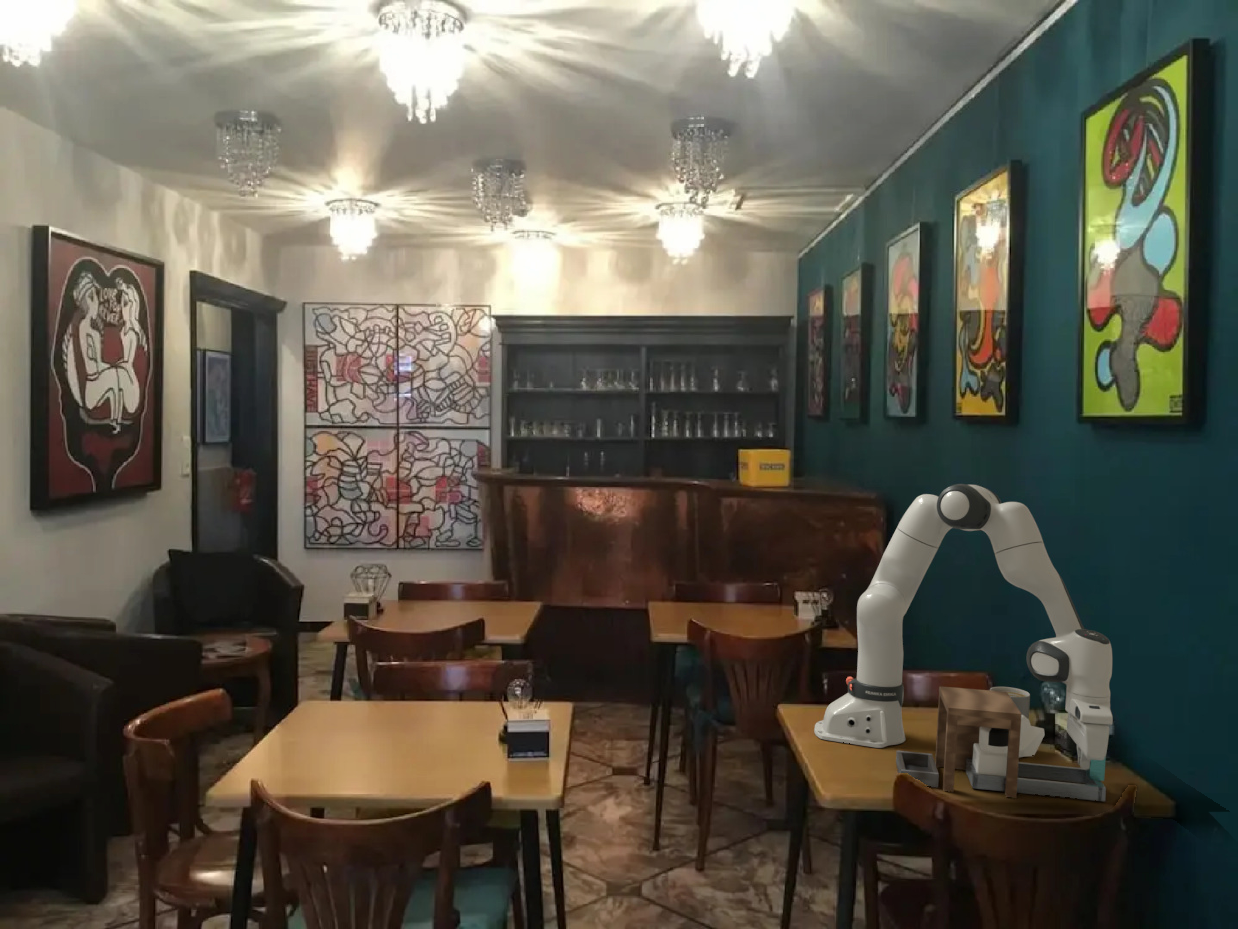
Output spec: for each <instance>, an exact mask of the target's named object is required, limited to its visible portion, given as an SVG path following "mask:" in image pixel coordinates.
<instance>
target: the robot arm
mask: <svg viewBox="0 0 1238 929" xmlns="http://www.w3.org/2000/svg"><path fill="white" fill-rule="evenodd" d="M951 529H955V530H956V529H957V530H962V531H966V532H973V531H974V532H975V531H976V532H977V531H979V532H982V531H983V532H984V533H986V535H987V537H988V539H989V540H990V543H991V546H992V550H993V553H994V556H995V560H996V563H997V566H998V569H999V571H1000V573H1001V575H1002V576H1003V578H1004V579H1005V581H1007V582H1008V583H1009V584H1011V585H1013V586H1014V587H1016V588H1019V589H1022V590H1024V591H1027V592H1029V593H1030V594H1032V595H1033V596H1035V597H1036V598H1037V599H1038V600H1039V601H1041V603H1042V605H1043V607H1044V609H1045V612H1046V614H1047V616H1048V619H1049V621H1050V623H1051V625H1052V627H1053V628H1052V629H1053V630H1054V632H1055V637H1049V638H1045V639H1040V640H1037V641H1035V642H1033V643H1032V644H1030V646H1029V647H1028V649H1027V651H1026V664H1027V667H1028V670H1029V672H1030V673H1031V674H1032V675H1033V677H1034V678H1035V679H1037V680H1039V681H1042V682H1046V683H1063V684H1065V686H1066V690H1065V693H1066V695H1065V708H1064V709H1065V711H1066V712H1067V718H1066V732H1067V733H1068V736H1070V737H1071V739H1072V741H1073V742H1074V743H1075V744H1076V753H1077V764H1078V765H1079V766H1080V767H1079V768H1082V769H1089V768H1090V761H1091V759H1092V760H1104V758H1105V756H1107V753H1108V752H1107V750H1108V745H1109V737H1110V727H1109V726H1112V725H1113V713H1112V710H1111V689H1110V681H1111V678H1112V676H1113V675H1112V674H1113V648H1112V644H1111V641H1110V640H1109V638H1108V637H1107V636H1106V635H1104V634H1103V633H1100V632H1098V631H1097V630H1090V629H1087V628H1085V627H1084V624H1083V623H1082V620H1081V618H1080V616H1079V614H1078V612H1077V609H1076V606H1075V604H1074V602H1073V598H1071V595H1070V592H1069V590H1068V589H1067V586H1066V584H1065V582H1064V580H1063V578H1062V576H1061V575H1060V573H1059V572H1058V571H1057V569H1056V568H1055V567H1054V565H1053V562H1052V560H1051V558H1050V557H1049V554H1048V552H1047V549H1046V546H1045V543H1044V540H1043V536H1042V534H1041V532H1040V529H1039V526H1038V524H1037V523H1036V521H1035V518H1034V516H1033V514H1032V513H1031V511H1030V509H1029V508H1028V506H1027V505H1025V504H1024V503H1022V502H1018V501H1006V502H1003V503H1002V500H1001V499H1000V498H999V495H997V494H996V493H995V492H994V491H992V490H991V489H989V488H987V487H982V486H981V485H978V484H965V483H957V484H952V485H950V486H948V487H946V488H945V489H943V491H941V493H940V494H939V496H938V495H935V494H929V493H923V494H921V495H918V496H917V497H916V498H915V499H914V500H913V501H912V503H911V504H910V505H909V507H908V508H907V509H906V511H905V513H904V514H903V515H902V517H901V518H900V521H899V522H898V525H897V527H896V529H894V530H895V531H894V533H893V534H892V537H891V538H890V541H889V542H888V545H887V547H886V548H885V550H884V552H883V555H882V557H881V559H880V562H879V565H878V566H877V568H876V570H875V573H874V575H873V578H872V579H871V581H870V584H869V585H868V587H867V589H866V590H865V591H864V592H863V593H862V594H861V595H860V596H859V598H858V600H857V606H856V628H857V630H856V631H857V633H856V634H857V651H858V652H857V664H856V666H857V667H856V668H857V669H856V671H857V672H856V677H855V678H854V677H852V676H847V678H846V680H845V682H846V685H847V693H845V694H844V695H842V696H840V697H839V698H837V699H835V700H834V701H832V702H831V703H830V704H828V706H827V707H826V709H825V711H824V715H823V719H822V720H819V721H817V722H816V723H815V724H814V729H813V732H814V735H815V736H816V737H817V738H819V739H820V740H825V741H831V742H837V743H843V742H844V744H849V743H850V744H851V745H857V746H864V747H871V748H877V749H882V748H886V747H888V746H893V745H894V746H895V745H900V744H903V743H904V742H905V741H906V735H905V731H904V725H903V716H902V715H903V714H902V707H903V703H904V691H905V690H904V689H905V687H904V684H903V670H904V669H903V665H904V645H903V643H904V642H903V641H904V640H903V622H904V621H903V620H904V616H905V615H906V614H907V611H908V609H909V607H910V606H911V603H912V601H913V600H914V597H915V595H916V593H917V591H918V589H919V587H920V585H921V583H922V581H923V579H924V578H925V575H926V573H927V571H928V569H929V567H930V565H931V564H932V562H933V559H934V558H935V555H936V554H937V552H938V550H939V547H940V546H941V544H942V541H943V539H944V538H945V536H946V534H947V533H948V532H949V531H950V530H951Z"/></svg>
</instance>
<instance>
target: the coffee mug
mask: <svg viewBox="0 0 1238 929" xmlns="http://www.w3.org/2000/svg"><path fill="white" fill-rule="evenodd" d="M989 690H990V691H1002V692H1007V693H1008V695H1009V696H1010V698H1011V699H1012V701H1013V702H1014V704H1015V705H1016V707H1017V708H1018V710H1019V711H1020V713H1021V715H1023V716H1025V717H1026V718H1027V719H1029V720H1030V703H1031V702H1030V701H1031V694H1030V693H1029V692H1028V691H1026V690H1024V689H1021V688H1016V687H1009V686H993V687H990V689H989Z"/></svg>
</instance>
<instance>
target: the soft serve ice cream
mask: <svg viewBox="0 0 1238 929" xmlns="http://www.w3.org/2000/svg"><path fill="white" fill-rule="evenodd" d="M1044 737H1045V728H1043V727H1039V726H1034V725H1031V721H1030V718H1029V719H1027V718H1026V717H1025V716H1023V715H1021V730H1020V746H1019V758H1023V757H1033V756H1032V755H1034V756H1035V755H1036V753H1037V751H1038V749H1039V747H1040V745H1041V743H1042V741H1043V738H1044Z"/></svg>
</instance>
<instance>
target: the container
mask: <svg viewBox="0 0 1238 929" xmlns="http://www.w3.org/2000/svg"><path fill="white" fill-rule="evenodd" d="M1008 735H1009V729H1002V728H991V727H980V730H979V744H978V743H974V745H973V765H974V767H975V769H976V772H977V774H985V775H996V776H1006V768H1007V751H1008Z"/></svg>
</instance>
